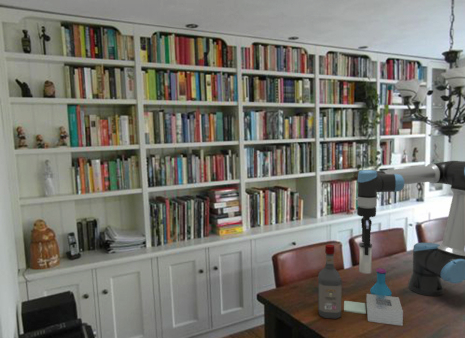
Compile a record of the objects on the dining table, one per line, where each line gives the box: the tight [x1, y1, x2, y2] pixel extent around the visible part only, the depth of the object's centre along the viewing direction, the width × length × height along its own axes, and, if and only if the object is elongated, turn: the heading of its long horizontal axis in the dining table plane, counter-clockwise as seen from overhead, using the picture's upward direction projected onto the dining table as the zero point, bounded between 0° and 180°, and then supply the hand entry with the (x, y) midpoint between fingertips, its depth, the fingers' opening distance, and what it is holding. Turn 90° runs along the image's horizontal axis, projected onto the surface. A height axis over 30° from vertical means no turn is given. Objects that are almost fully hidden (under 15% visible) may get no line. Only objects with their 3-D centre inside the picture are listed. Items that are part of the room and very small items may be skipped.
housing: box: [365, 293, 404, 327], centre depth 149 cm, size 13×13×6 cm
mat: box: [343, 300, 367, 315], centre depth 156 cm, size 9×9×1 cm
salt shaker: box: [358, 242, 373, 274], centre depth 151 cm, size 5×5×12 cm
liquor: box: [317, 244, 342, 320], centre depth 151 cm, size 9×9×30 cm
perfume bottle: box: [369, 267, 393, 297], centre depth 162 cm, size 9×9×15 cm
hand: (365, 259), depth 151 cm, fingers closed on salt shaker, 5 cm apart
